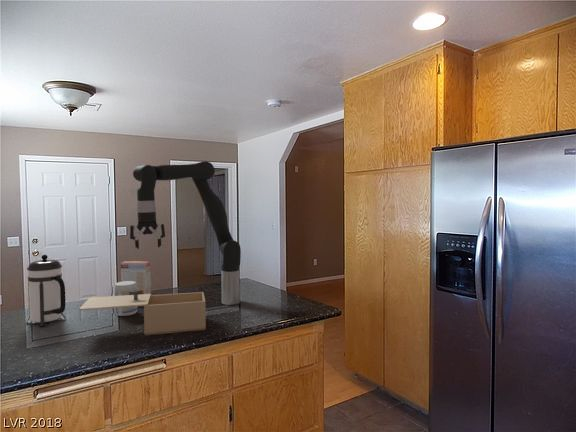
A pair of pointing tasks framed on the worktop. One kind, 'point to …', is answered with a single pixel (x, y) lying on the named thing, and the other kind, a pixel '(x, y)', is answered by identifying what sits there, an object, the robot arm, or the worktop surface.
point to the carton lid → (117, 301)
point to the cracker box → (137, 274)
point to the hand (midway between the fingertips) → (148, 247)
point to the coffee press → (45, 291)
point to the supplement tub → (124, 289)
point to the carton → (175, 313)
